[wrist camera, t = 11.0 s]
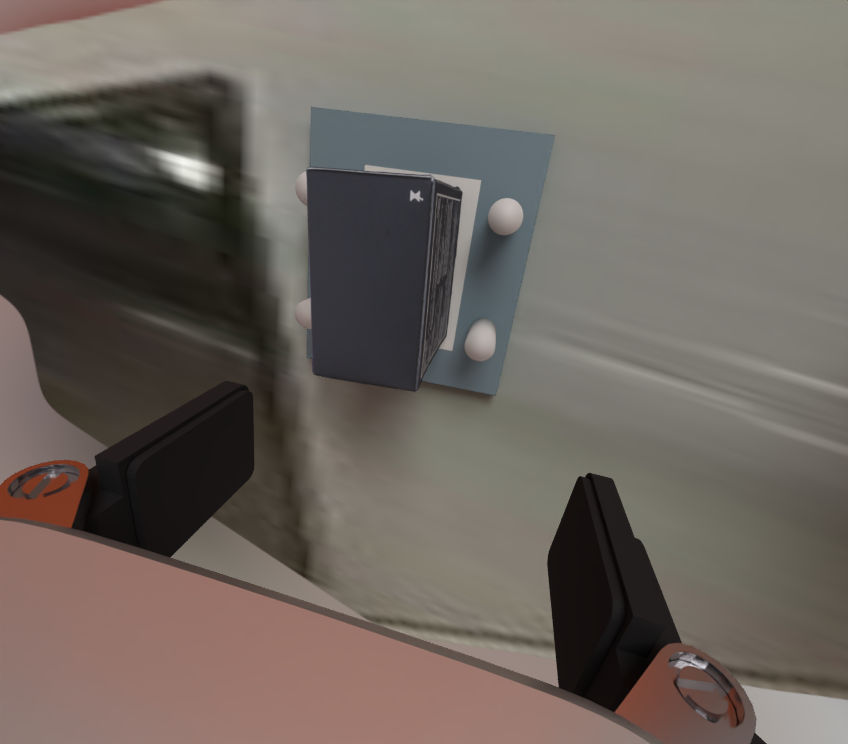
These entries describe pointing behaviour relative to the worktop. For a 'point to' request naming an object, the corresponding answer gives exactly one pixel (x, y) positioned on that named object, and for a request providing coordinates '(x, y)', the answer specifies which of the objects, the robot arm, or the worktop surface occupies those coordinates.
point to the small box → (379, 273)
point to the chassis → (478, 230)
